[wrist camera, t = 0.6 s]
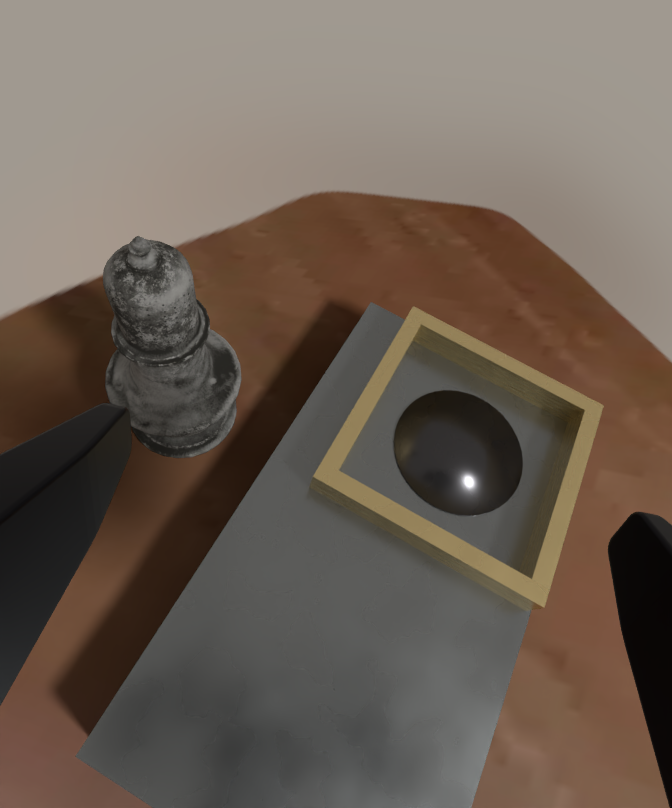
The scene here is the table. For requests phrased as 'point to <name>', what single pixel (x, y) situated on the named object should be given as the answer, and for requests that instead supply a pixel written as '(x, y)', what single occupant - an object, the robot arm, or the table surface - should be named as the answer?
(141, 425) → the grey tiered ornament
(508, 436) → the grey slab
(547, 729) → the table surface
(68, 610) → the table surface
